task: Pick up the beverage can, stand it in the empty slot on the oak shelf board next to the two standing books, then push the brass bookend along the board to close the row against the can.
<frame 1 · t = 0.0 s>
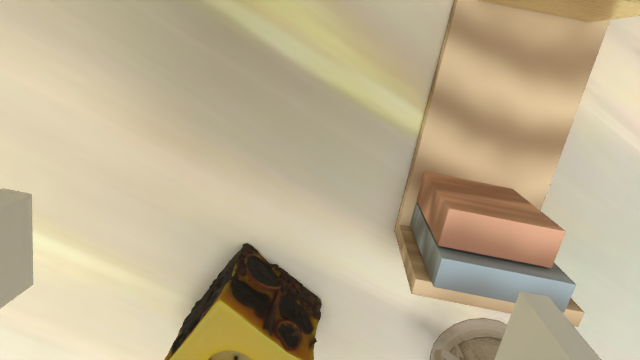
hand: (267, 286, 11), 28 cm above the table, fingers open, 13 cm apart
shelf: (493, 120, 37), on the table
mug: (463, 343, 44), on the table
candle: (257, 302, 44), on the table
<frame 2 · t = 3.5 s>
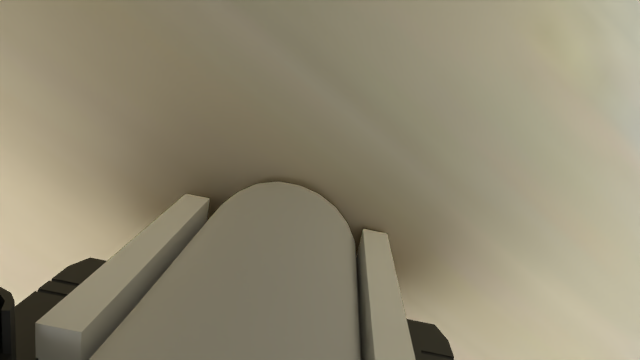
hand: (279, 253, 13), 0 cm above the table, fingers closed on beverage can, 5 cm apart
beverage can: (281, 245, 14), on the table, touching gripper
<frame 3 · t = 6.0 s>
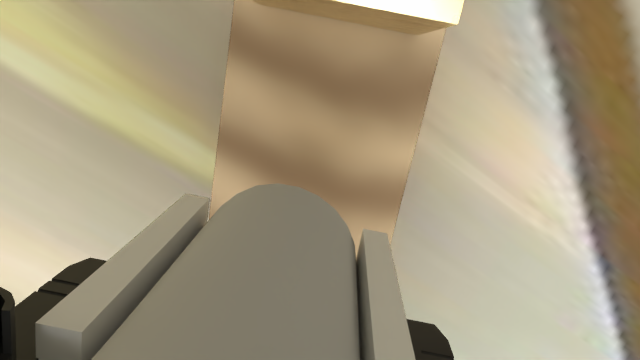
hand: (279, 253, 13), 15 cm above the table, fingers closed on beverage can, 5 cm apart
shelf: (311, 166, 28), on the table
beverage can: (281, 247, 14), point 14 cm above the table, touching gripper
when the fingers open (3 cm above the table, at t = 8.4 s): beverage can drops 1 cm, resting on shelf.
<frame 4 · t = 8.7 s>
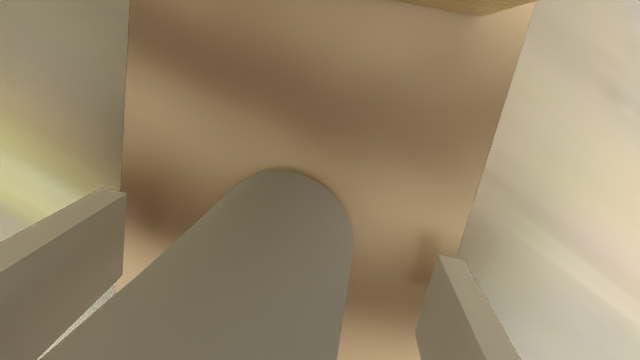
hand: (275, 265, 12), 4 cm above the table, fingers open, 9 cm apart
shelf: (286, 242, 16), on the table
beverage can: (286, 229, 15), point 1 cm above the table, touching shelf
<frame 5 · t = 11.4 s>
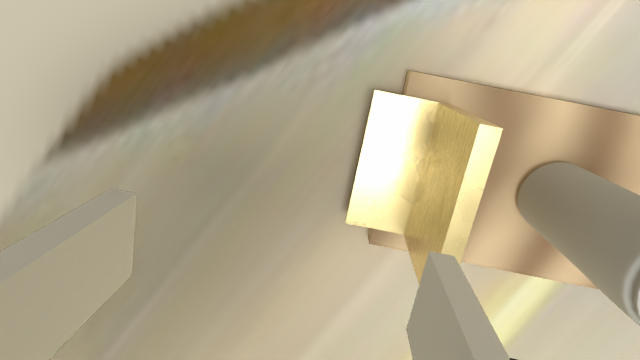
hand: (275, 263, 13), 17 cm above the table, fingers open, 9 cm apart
shelf: (557, 192, 29), on the table
beverage can: (549, 194, 28), point 1 cm above the table, touching shelf
bookend: (405, 185, 23), point 6 cm above the table, slide at 0.0 cm
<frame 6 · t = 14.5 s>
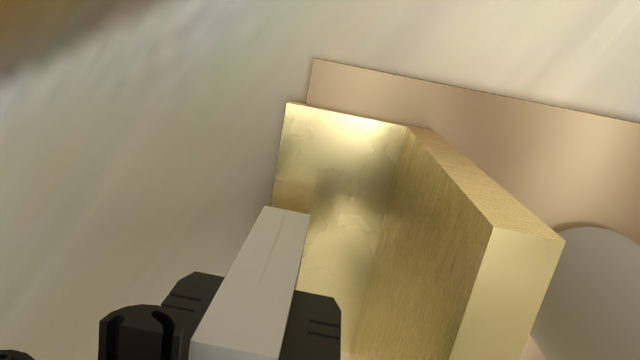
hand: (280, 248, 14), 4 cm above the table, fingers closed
shelf: (580, 269, 17), on the table
beverage can: (567, 277, 16), point 1 cm above the table, touching shelf
bookend: (331, 302, 11), point 6 cm above the table, slide at 1.5 cm, touching gripper
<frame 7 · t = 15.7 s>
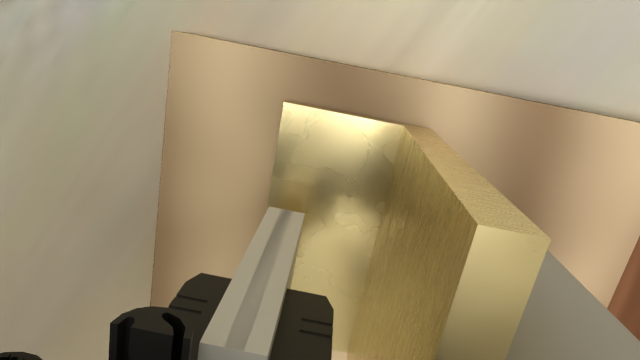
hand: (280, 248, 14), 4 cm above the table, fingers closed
shelf: (464, 246, 17), on the table
beverage can: (460, 256, 16), point 1 cm above the table, touching bookend, hand, shelf
bookend: (325, 301, 11), point 6 cm above the table, slide at 6.2 cm, touching beverage can, gripper
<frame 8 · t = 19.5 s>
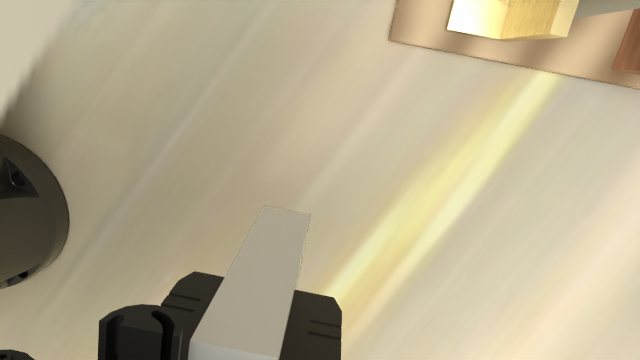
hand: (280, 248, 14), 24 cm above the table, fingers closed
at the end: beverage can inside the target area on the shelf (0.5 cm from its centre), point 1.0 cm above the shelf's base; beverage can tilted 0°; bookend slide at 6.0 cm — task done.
